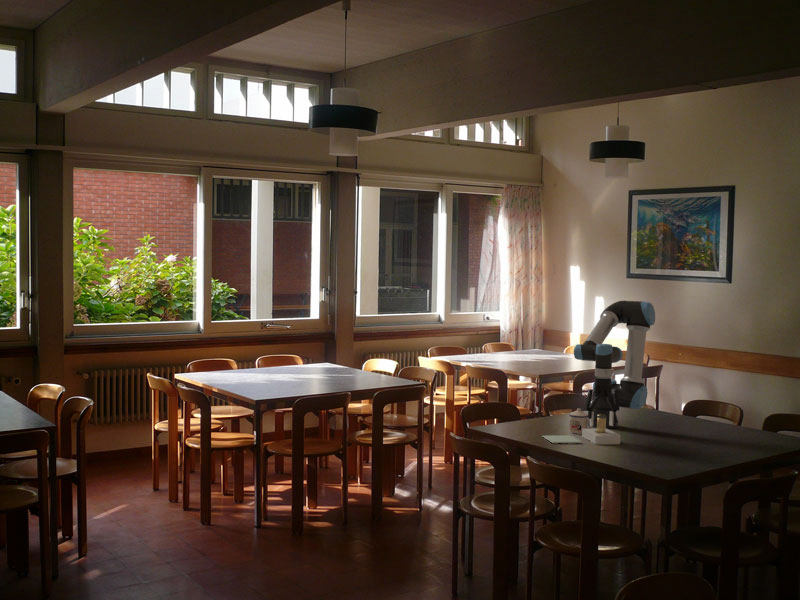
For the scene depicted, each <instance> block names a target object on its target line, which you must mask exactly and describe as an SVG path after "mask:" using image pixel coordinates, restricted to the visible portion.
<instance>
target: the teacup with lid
mask: <svg viewBox="0 0 800 600" xmlns="http://www.w3.org/2000/svg"><path fill="white" fill-rule="evenodd" d="M568 415H569V425H568V426H569V428H568V431H569V433H570V432H572V433H571V434H573V433H577V434H576V435H582V429H593V427H592V426H589V425H588V421H589V422H590V419H589V418H588V413H586V412H584V411H583V410H582V408H577V409H576V410H575V411H572V412H569V414H568ZM588 426H589V427H588Z"/></svg>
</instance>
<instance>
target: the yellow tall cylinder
mask: <svg viewBox="0 0 800 600" xmlns="http://www.w3.org/2000/svg"><path fill="white" fill-rule="evenodd" d="M596 429H597V433H605V432H606V429H607V428H606V415H604V414H597V427H596Z"/></svg>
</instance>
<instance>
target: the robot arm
mask: <svg viewBox="0 0 800 600" xmlns="http://www.w3.org/2000/svg"><path fill="white" fill-rule="evenodd" d="M599 318H600V319H599V320H598V322H597V323H596V324H595V326H594V327H593V329H592V330H591V332H590V334H589V335H588V336H587V337H586V339H585V340H584V342H583V343H580V344H579V343H577V344H575V346H574V348H573V357H574V359H575V360H579V361H586V362H587V361H588V362H595V363H594V364H595V366H594V376H595V377H594V381H593V384H592V388H588V389H587V396H586V401H585V404H584V407H583V408H584V410H585V411H586V412H587V414H588V419H590V422H589V421H588V426H589V427H590V426H592V428H597V414H604V415H606V429H615V428H616V429H617V428H619V420H618V419H619V418H618V416H617V413H616V412H618V411H620V409H621V408H623V409H631V410H640V409H642V408H643V407H644V406H645V404H646V402H647V399H648V388H647V387H646V386H645V382H644V381H643V368H644V358H645V349H646V347H645V346H646V338H647V332H648V331H650V329H651V327H652V326H654V325H655V323H656V311H655V307H654V305H653V303H651V302H650V301H643V300H642V301H639V300H637V301H636V300H618V301H616V302H613V303H612V304H610V305H608V306H607V307H605V309H604V310H603V311H602V312H601V314H600V315H599ZM619 324H626V325H625V327H626V329H627V330H628V335H627V344H626V354H625V362H624V370H623V371H624V372H623V377H622V378H621V379H620V380H619V383H618V382H617V380H616V379H615V380H614V379H612V374H613V373H612V369H613V364H615V363H618V362H620V361H621V360H622V359H623V355H624V354H623V351H622V349H621V348H620V347H618V346H613V345H612V344H611V343H610V344H609V343H604V342H605V340H606V339H607V337H608V336H609V334H610V332H611V331H612V329H613V328H615V327H617V326H618V325H619Z"/></svg>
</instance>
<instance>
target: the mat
mask: <svg viewBox="0 0 800 600" xmlns="http://www.w3.org/2000/svg"><path fill="white" fill-rule="evenodd" d="M542 437H544V438H545V439H547V440H549V441H550V442H552V443H582V444H583V441H582V440H580V439H578V438H577V437H574V436H573V435H567V434H566V435H565V434H564V435H561V434H560V435H542V436H541V438H542ZM545 439H544V440H545ZM550 442H549V443H550Z"/></svg>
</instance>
